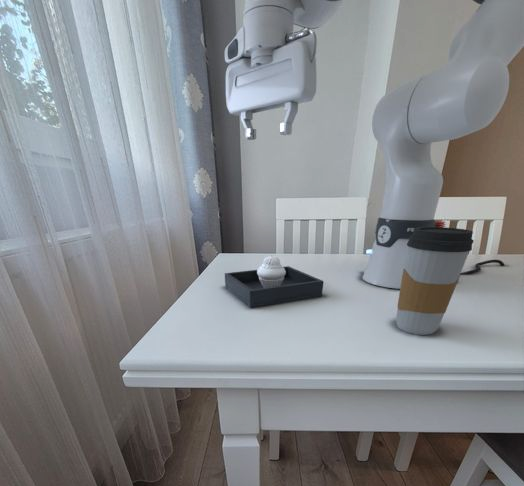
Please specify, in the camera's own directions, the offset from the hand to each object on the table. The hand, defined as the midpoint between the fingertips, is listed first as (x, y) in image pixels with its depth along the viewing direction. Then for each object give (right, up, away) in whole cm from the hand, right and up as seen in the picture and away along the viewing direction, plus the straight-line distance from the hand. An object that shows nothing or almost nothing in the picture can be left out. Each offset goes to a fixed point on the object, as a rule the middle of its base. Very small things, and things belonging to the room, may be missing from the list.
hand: (267, 137), depth 59 cm
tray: (+1, -30, +6) cm, 31 cm away
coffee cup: (+24, -39, -11) cm, 47 cm away
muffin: (+1, -30, +5) cm, 30 cm away
